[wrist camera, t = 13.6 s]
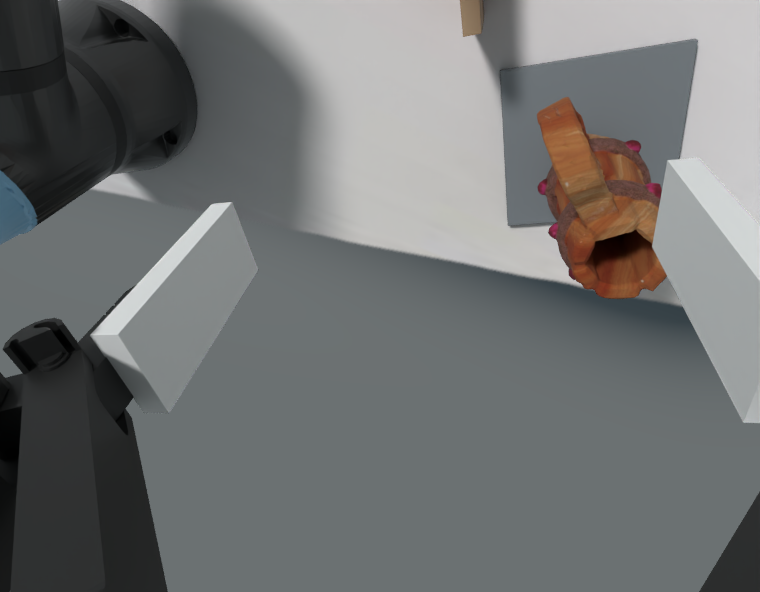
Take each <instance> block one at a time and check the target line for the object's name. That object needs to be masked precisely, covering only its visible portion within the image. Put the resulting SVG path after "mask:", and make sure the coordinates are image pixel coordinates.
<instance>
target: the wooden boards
mask: <svg viewBox="0 0 760 592" xmlns="http://www.w3.org/2000/svg"><path fill="white" fill-rule="evenodd" d="M460 6H461V17H462V29H463V37H465V36H470V35H476V34H481V33H482V27H483V21H484V7H483V0H460Z"/></svg>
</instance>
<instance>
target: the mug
mask: <svg viewBox="0 0 760 592" xmlns="http://www.w3.org/2000/svg"><path fill="white" fill-rule="evenodd" d="M537 120H538V124H539V125H540V128H541V132H542V137H543V141H544V143H545V146H546V148H547V151H548V154H549V156H550V159H551V162H552V166H551V168H550V170H549V172H548V175H547V177H546V179H544V180H543V181H541V182H540V183H539V185H538V186H537V188H538V192H539V193H540V194H541V195H546V197H547V201H548V206H549V208H550V210H551V213H552V214H553V216H554V217H555V219H556V220H557V223H555V224H554V225H552V226H551V227H550V228H549V232H548V233H549V234H550V236H551V237H553V238H554V239H556V240H557V242H558V246H559V251H560V254H561V256H562V259H563V260H564V262H565V263H566V265H567V266H568V267H569V276H570V277H571V278H572V279H573V280H576V281H577V282H579V283H581V284H582V285H583V287H584V288H585V289H593V290H595V292H596V294H597V295H599V296H601V297H603V298H609V299H624V298H634V297H636V296H638V295H639V293H640V291H641V290H642V289H648V290H651V291H653V290H654V289H655V288H656V287H657V286H658V285H659V284H660V283H661V282H662V281H663V280H664V279H665V278H666V277H667V275H666V273H665V271H664V269H663V267H662V265H661V263H660V261H659V259H658V257H657V255H656V253H655V251H654V250H653V248H652V244H653V238H654V233H655V227H656V221H657V216H658V210H659V205H660V199H661V193H662V189H661V185H660V184H658V183H651V178H650V173H649V169H648V168H647V166H646V164H645V162H644V161H643V159H642V157H641V156H640V154H639V152H640V149H641V144H640V143H639V142H638V141H636V140H630V141H627V142H623V141H621V140H618V139H615V138H609V137H605V136H600V135H595V134H587V133H586V129H585V125H584V122H583V119H582V116H581V115H580V114H579V113H578V112H577V111H576V110H575V108H574V106H573V104H572V102H571V100H570V98H569V97H565V98H562V99H561V100H559V101H557V102H555V103H553V104H551V105H550V106H548V107H546V108H544V109H542V110H540V111H539V112H538V113H537Z"/></svg>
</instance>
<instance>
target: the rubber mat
mask: <svg viewBox="0 0 760 592" xmlns="http://www.w3.org/2000/svg"><path fill="white" fill-rule="evenodd" d="M697 43H698V40H697V39H691V40H685V41H679V42H673V43H666V44H660V45H654V46H648V47H641V48H635V49H629V50H623V51H617V52H610V53H604V54H598V55H592V56H585V57H579V58H573V59H567V60H561V61H554V62H548V63H542V64H536V65H530V66H523V67H517V68H511V69H505V70H500V78H501V98H502V118H503V138H504V158H505V178H506V198H507V218H508V226H509V225H522V224H535V223H548V222H557V220H556V219H555V217H554V216H553V214H552V213H551V210H550V208H549V206H548V201H547V197H546V195H541V194H540V193H539V192H538V188H537V186H538V185H539V183H540V182H541V181H543V180H544V179H546V177H547V175H548V172H549V170H550V168H551V166H552V162H551V159H550V156H549V154H548V151H547V148H546V146H545V143H544V141H543V137H542V132H541V128H540V125H539V124H538V120H537V113H538V112H539V111H540V110H542V109H544V108H546V107H548V106H550V105H551V104H553V103H555V102H557V101H559V100H561V99H562V98H565V97H569V98H570V100H571V102H572V104H573V106H574V108H575V110H576V111H577V112H578V113H579V114H580V115H581V116H582V119H583V122H584V125H585V129H586V133H587V134H595V135H600V136H605V137H609V138H615V139H618V140H621V141H623V142H627V141H630V140H636V141H638V142H639V143H640V144H641V149H640V152H639V154H640V156H641V157H642V159H643V161H644V162H645V164H646V166H647V168H648V169H649V173H650V178H651V183H658V184H660V185H661V189H662V188H663V182H664V176H665V171H666V165H667V160H676V159H679V156H680V149H681V143H682V137H683V131H684V124H685V118H686V112H687V106H688V99H689V93H690V87H691V81H692V75H693V68H694V62H695V56H696V50H697Z"/></svg>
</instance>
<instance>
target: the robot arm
mask: <svg viewBox="0 0 760 592" xmlns="http://www.w3.org/2000/svg"><path fill="white" fill-rule="evenodd" d="M196 119H197V102H196V95H195V90H194V86H193V83H192V79H191V77H190V74H189V71H188V69H187V67H186V65H185V63H184V61H183V59H182V57H181V55H180V54H179V52H178V50H177V49H176V47H175V46H174V44H173V43H172V42H171V40H170V39H169V38H168V37H167V35H166V34H165V33H164V32H163V31H162V30H161V29H160V28H159V27H158V26H157V25H156V24H155V23H154V22H153V21H152V20H151V19H150V18H148V17H147V16H146V15H145V14H143V13H142V12H140V11H139V10H137V9H136V8H134V7H133V6H131V5H129V4H127V3H125V2H123V1H120V0H59V1H58V0H0V245H1V244H3V243H4V242H6V241H8V240H10V239H12V238H13V237H15V236H17V235H19V234H24V233H27V232H28V231H31V230H32V229H33V228H34V227H35V226H37V225H38V224H39V223H41V222H42V221H44V220H45V219H47V218H48V217H50V216H51V215H53V214H54V213H55V212H57V211H58V210H60V209H61V208H63V207H64V206H66V205H67V204H68V203H70V202H71V201H73V200H74V199H76V198H77V197H78V196H80V195H82V194H83V193H85V192H86V191H88V190H89V189H90V188H92V187H93V186H95V185H96V184H98V183H99V182H101V181H102V180H104V179H105V178H107V177H108V176H110V175H111V174H118V173H126V172H133V171H141V170H147V169H152V168H155V167H158V166H160V165H162V164H164V163H166V162H167V161H169V160H170V159H172V158H173V157H175V156H176V155H177V154H179V153H180V152H181V151H182V150H183V149H184V148H185V147H186V146H187V144H188V143H189V141H190V139H191V137H192V135H193V132H194V129H195V125H196ZM652 248H653V250H654V251H655V253H656V255H657V257H658V259H659V261H660V263H661V265H662V267H663V269H664V271H665V273H666V275H667V277H668V279H669V280H670V282H671V284H672V286H673V288H674V290H675V292H676V294H677V296H678V298H679V300H680V302H681V304H682V306H683V307H684V309H685V311H686V313H687V315H688V317H689V319H690V321H691V323H692V325H693V327H694V329H695V331H696V333H697V334H698V336H699V338H700V340H701V342H702V344H703V346H704V348H705V350H706V352H707V353H708V355H709V358H710V360H711V361H712V363H713V365H714V367H715V369H716V371H717V373H718V375H719V377H720V379H721V381H722V383H723V385H724V387H725V388H726V390H727V392H728V394H729V396H730V398H731V400H732V402H733V404H734V406H735V408H736V409H737V411H738V413H739V415H740V417H741V419H742V421H743V423H760V224H759V223H758V222H757V221H756V220H755V219H754V218H753V217H752V215H751V214H750V213H749V212H748V211H747V210H746V209H745V208H744V207H743V205H742V204H741V203H740V202H739V201H738V200H737V199H736V198H735V197H734V196H733V194H732V193H731V192H730V191H729V190H728V189H727V188H726V187H725V186H724V184H723V183H722V182H721V181H720V180H719V179H718V178H717V177H716V176H715V174H714V173H713V172H712V171H711V170H710V169H709V168H708V167H707V166H706V165H705V163H704V162H703V161H702V160H701V159H700V158H699V157H697V158H686V159H676V160H667V165H666V171H665V176H664V182H663V188H662V193H661V199H660V205H659V210H658V216H657V221H656V227H655V233H654V238H653V244H652ZM257 272H258V267H257V265H256V262H255V259H254V257H253V254H252V252H251V249H250V246H249V244H248V241H247V239H246V236H245V233H244V231H243V228H242V226H241V223H240V220H239V218H238V215H237V213H236V210H235V207H234V205H233V202H226V203H216V204H211V205H210V207H209V208H208V209H207V210H206V211H205V212H204V213H203V214H202V215H201V216H200V217H199V218H198V219H197V221H196V222H195V223H194V224H193V225H192V226H191V227H190V228H189V229H188V230H187V231H186V232H185V233H184V235H183V236H182V237H181V238H180V239H179V240H178V241H177V242H176V243H175V244H174V245H173V247H172V248H171V249H170V250H169V251H168V252H167V253H166V254H165V255H164V256H163V257H162V258H161V259H160V260H159V261H158V263H157V264H156V265H155V266H154V267H153V268H152V269H151V270H150V271H149V272H148V273H147V274H146V275H145V277H144V278H143V279H142V280H141V281H140V282H139V283H138V284H137V285H135V286H134V287H132V288H131V289H129V290H128V291H126V292H125V293H124V294H123V295H122V296H121V297H120V298H119V300H118V301H117V302H116V303H115V306H112V307H111V308H110V309H109V310H108V311H107V312H106V315H103V317H102V318H101V319H100V320H99V321H98V322H97V323H96V324H95V325H94V326H93V327H92V328H91V329H90V330H89V331H88V333H87V334H86V335H85V336H84V337H83V338H82V339H81V340H80V341H79V342H78V343H77V341H76V340H75V338H74V337H73V336H72V334H71V333H70V332H69V330H68V329H67V327H66V326H65V325H64V323H63V322H62V320H60V319H56V318H52V319H45V320H41V321H38V322H35V323H33V324H31V325H29V326H27V327H25V328H23V329H21V330H20V331H19V332H17V333H16V334H14V335H13V336H12V337H11V338H10V339H9V340H8V341H7V342H6V343H5V345H4V348H3V350H4V352H5V353H6V354H7V355H8V356H9V357H10V359H11V360H12V361H13V362H14V363H15V364H16V366H17V367H18V368H19V369H20V370H21V371H22V373H23V374H19V375H15V376H11V377H8V378H5V377H4V376H3V375H2V374H1V373H0V592H168V591H167V586H166V582H165V576H164V571H163V567H162V562H161V557H160V552H159V547H158V542H157V538H156V533H155V529H154V523H153V518H152V514H151V509H150V504H149V499H148V494H147V489H146V484H145V480H144V475H143V470H142V465H141V460H140V455H139V451H138V446H137V441H136V436H135V431H134V427H133V421H132V418H131V416H130V415H129V413H128V412H127V410H126V409H125V408H126V407H127V406H128V404H129V403H130V401H131V400H132V399H133V398H134V399H135V401H136V403H137V404H138V405H139V407H140V408H141V410H142V411H143V413H170V411H171V409H172V408H173V406H174V405H175V403H176V401H177V399H178V398H179V397H180V395H181V393H182V392H183V390H184V389H185V387H186V385H187V384H188V382H189V381H190V379H191V377H192V376H193V374H194V373H195V371H196V369H197V368H198V366H199V365H200V363H201V361H202V360H203V358H204V357H205V355H206V353H207V352H208V350H209V349H210V347H211V345H212V344H213V342H214V341H215V339H216V337H217V336H218V334H219V333H220V331H221V329H222V328H223V326H224V325H225V323H226V321H227V320H228V318H229V317H230V315H231V313H232V312H233V310H234V308H235V307H236V305H237V304H238V302H239V301H240V299H241V297H242V296H243V294H244V292H245V291H246V289H247V288H248V286H249V285H250V283H251V281H252V280H253V278H254V276H255V275H256V273H257ZM699 592H760V492H759V494H758V496H757V497H756V499H755V501H754V502H753V504H752V506H751V507H750V509H749V510H748V512H747V514H746V515H745V517H744V519H743V520H742V522H741V524H740V525H739V527H738V529H737V530H736V532H735V534H734V535H733V537H732V539H731V540H730V542H729V543H728V545H727V547H726V548H725V550H724V552H723V553H722V555H721V557H720V558H719V560H718V562H717V563H716V565H715V567H714V568H713V570H712V572H711V573H710V575H709V577H708V578H707V580H706V581H705V583H704V585H703V586H702V588H701V590H700V591H699Z"/></svg>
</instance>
